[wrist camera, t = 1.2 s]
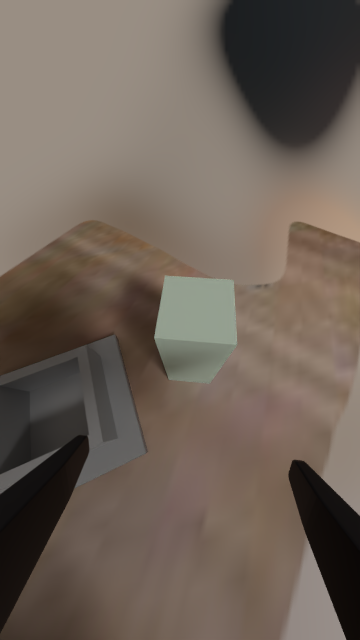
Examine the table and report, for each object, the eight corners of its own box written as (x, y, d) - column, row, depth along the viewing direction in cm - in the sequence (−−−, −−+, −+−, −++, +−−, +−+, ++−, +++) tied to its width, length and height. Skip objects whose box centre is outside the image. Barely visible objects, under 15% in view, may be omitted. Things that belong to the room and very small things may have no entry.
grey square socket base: (147, 451, 19) (137, 461, 15) (1, 523, 17) (-64, 559, 12) (116, 337, 25) (103, 320, 21) (7, 377, 23) (-35, 367, 19)
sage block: (209, 383, 22) (237, 344, 11) (168, 379, 23) (154, 337, 11) (210, 344, 25) (233, 280, 13) (173, 341, 25) (165, 275, 14)
